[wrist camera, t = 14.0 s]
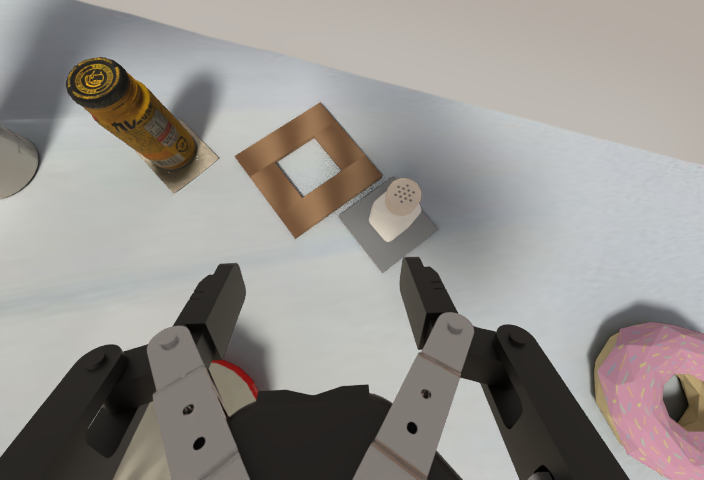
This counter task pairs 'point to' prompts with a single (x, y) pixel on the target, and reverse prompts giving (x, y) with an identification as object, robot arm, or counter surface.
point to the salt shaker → (396, 208)
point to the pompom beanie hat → (147, 446)
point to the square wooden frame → (327, 196)
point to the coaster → (373, 242)
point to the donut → (654, 396)
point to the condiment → (139, 121)
